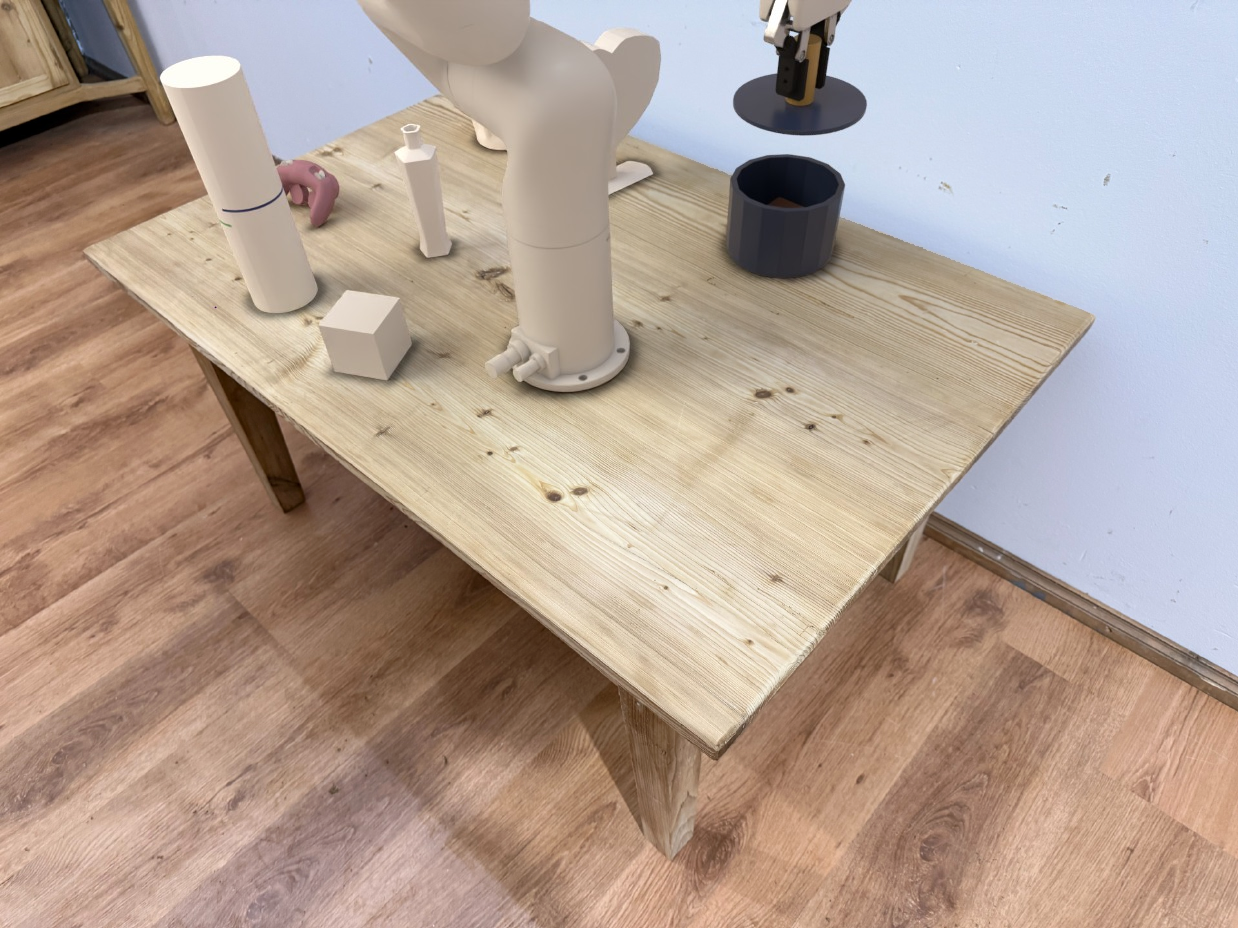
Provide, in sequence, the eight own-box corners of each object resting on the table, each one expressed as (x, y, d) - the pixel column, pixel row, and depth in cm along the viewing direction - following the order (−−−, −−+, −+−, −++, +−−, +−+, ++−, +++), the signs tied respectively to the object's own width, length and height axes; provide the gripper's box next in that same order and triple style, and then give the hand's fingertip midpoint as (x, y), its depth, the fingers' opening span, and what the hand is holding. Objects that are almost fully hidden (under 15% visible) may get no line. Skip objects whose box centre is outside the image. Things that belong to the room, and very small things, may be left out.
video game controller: (342, 227, 109) (347, 171, 106) (314, 228, 105) (318, 170, 102) (289, 207, 113) (292, 153, 110) (260, 207, 109) (262, 151, 106)
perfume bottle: (409, 255, 101) (380, 135, 90) (428, 236, 104) (402, 117, 93) (442, 263, 100) (417, 141, 89) (461, 243, 103) (438, 123, 92)
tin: (791, 291, 94) (801, 224, 88) (705, 251, 100) (708, 185, 94) (852, 244, 100) (866, 178, 94) (767, 208, 106) (774, 144, 100)
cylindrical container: (300, 316, 94) (215, 90, 76) (241, 309, 95) (144, 85, 77) (328, 279, 99) (254, 58, 80) (271, 273, 100) (186, 53, 81)
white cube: (361, 336, 91) (346, 289, 87) (412, 344, 90) (400, 297, 86) (334, 371, 87) (317, 325, 83) (387, 380, 86) (373, 333, 82)
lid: (815, 155, 82) (826, 81, 77) (705, 115, 88) (709, 44, 83) (890, 106, 88) (905, 34, 83) (782, 71, 95) (790, 3, 90)
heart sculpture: (639, 155, 117) (637, 16, 103) (664, 169, 114) (665, 27, 101) (549, 196, 110) (535, 52, 97) (574, 211, 107) (562, 65, 94)
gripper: (841, -148, 79) (814, 56, 93) (733, -107, 71) (721, 108, 85) (913, -136, 75) (874, 74, 89) (808, -92, 68) (783, 131, 81)
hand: (799, 89), depth 87 cm, fingers closed on lid, 2 cm apart
